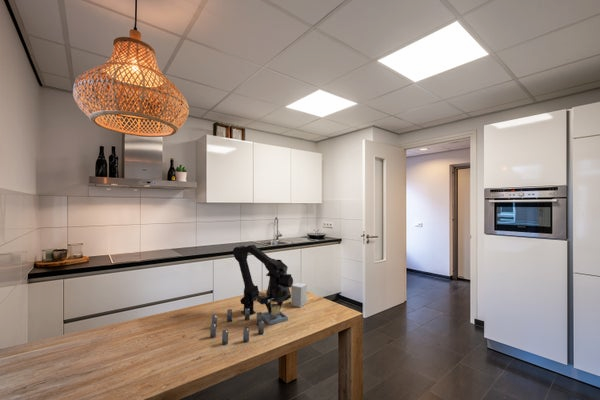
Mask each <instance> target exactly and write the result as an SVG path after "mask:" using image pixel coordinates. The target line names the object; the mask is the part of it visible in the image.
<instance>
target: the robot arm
mask: <svg viewBox="0 0 600 400" xmlns="http://www.w3.org/2000/svg"><path fill="white" fill-rule="evenodd" d="M248 253H249V254H251V255H252V256H253V257H255V258H256V259H257V260H258V261H260V262H261V263H262V264H263V265H264V266H265V269H266V270H267V273H266V274H265V276H266V277H269V279H270V281H269V280H268V285H269V286H267V288H268V287H269V293H268V295H269V296H266V294H262V295H260V290H259V287H258V285H255V284H254V282H253V279H252V275H251V274H252V273H251V272H250V271H251V270H250V267H249V263H248V255H249V254H248ZM232 255H233V256H234V259H235V260H236V261H237V262H238V266H239V269H240V272H241V277H242V281H243V283H244V288H243V297H242V298H241V299H240V304H241V305H243V310H241V311H240V312H241V313H242V314H243V315H244V316H245V308H250V315H253V314H257V312H256V311H255V310H254V306H255V305H254V302H255V301H256V302H257V303H258V304H260V305H265V307H266V309H267V312H269V314H270V312H271V307H270V305H271V304H272V301H270V300H271V299H275V300H276V302H275V303H276V304H278V305H280V309H281V307H282V305H283V303H284V302H286V301H287V300H286V299H288V300H290V299H291V292H290V293H289V292H288V291H281V287H280V286H284V287H289V288H292V287H291V286H292V285H294V278H293V277H292V274H290V273H287V274H285V271H284V269H283V268H282V266H281V263H280V262H279V261H277V260H278V259H275V258H272V257H270V256H269V255H267V254H266V253H264V251H262V250H261V249H260V248H259V247H257V246H256V244H250V245H246V246H245V245H239V246H235V247H234V248H233V250H232ZM278 271H280V272H278ZM277 272H278V273H277ZM285 298H286V299H285ZM285 300H286V301H285Z"/></svg>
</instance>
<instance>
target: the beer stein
mask: <svg viewBox="0 0 600 400" xmlns="http://www.w3.org/2000/svg"><path fill="white" fill-rule="evenodd" d="M276 260H277V261H279V262H280V263H281V266H282V268H283V269H284V271H285V274H288V272H287V271H288V268H289V267H288V266H287V264H286V263H284V262H283V261H282V259H276ZM278 272H280V271H278ZM278 272H277V273H278ZM269 281H270V278H269V280H268V282H269ZM268 286H269V284H268ZM268 286H267V289H266V293H265V296H266V297H267V296H269V295H268V293H269V287H268ZM280 287H281V291H288V292H289V293H291V289H290V287H284V286H280ZM285 299H286V298H285ZM288 300H289V299H286V300H285V301H284V302H286V301H288ZM270 302H275V303H277V302H276V300H275V299H271V300H270Z"/></svg>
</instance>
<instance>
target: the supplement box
mask: <svg viewBox="0 0 600 400" xmlns="http://www.w3.org/2000/svg"><path fill="white" fill-rule="evenodd" d="M307 285H308V284H306V283H301V282H296V283H293V284H292V286H291V287H290V288H291V291H290V293H291V298H290V299H291V302H290V303H291V306H294V307H299V308H302V307H304V306H306V305H307V304H308V303H307V301H308V299H307V296H308V295H307V294H308V292H307V289H308V288H307V287H308V286H307Z"/></svg>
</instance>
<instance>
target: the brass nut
mask: <svg viewBox="0 0 600 400" xmlns="http://www.w3.org/2000/svg"><path fill="white" fill-rule="evenodd" d="M270 307H271V312H270V314H269V315H270V316H278V315H279V314H280V311H281V308H280V305H278V304H277V303H271V305H270Z"/></svg>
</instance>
